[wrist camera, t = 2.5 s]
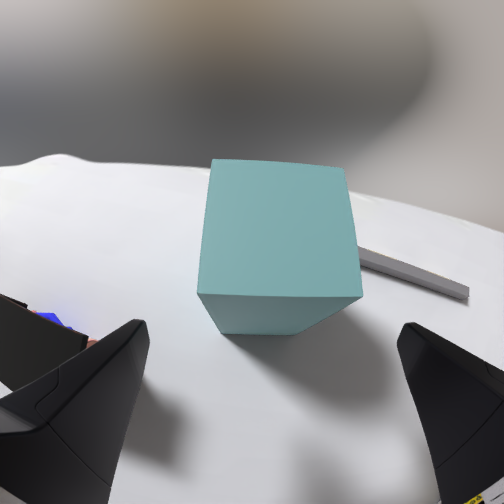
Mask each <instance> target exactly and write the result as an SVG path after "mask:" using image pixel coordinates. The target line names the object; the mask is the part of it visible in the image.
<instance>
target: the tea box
mask: <svg viewBox="0 0 504 504" xmlns="http://www.w3.org/2000/svg"><path fill="white" fill-rule="evenodd" d="M197 294H198V296H199V298H200V299H201V301H202V303H203V305H204V306H205V308H206V310H207V311H208V313H209V315H210V316H211V318H212V320H213V321H214V323H215V325H216V326H217V328H218V329H219V331H220V333H222V334H247V335H296V334H298V333H300V332H302V331H304V330H306V329H307V328H309V327H311V326H313V325H315V324H317V323H318V322H320V321H322V320H324V319H326V318H327V317H329V316H331V315H333V314H335V313H336V312H338V311H340V310H341V309H343V308H345V307H347V306H348V305H350V304H352V303H353V302H355V301H357V300H358V299H360V298H362V297H363V289H362V279H361V270H360V262H359V254H358V247H357V240H356V233H355V226H354V220H353V214H352V209H351V203H350V198H349V193H348V188H347V183H346V178H345V173H344V169H343V168H336V167H327V166H318V165H308V164H297V163H285V162H272V161H253V160H226V159H225V160H224V159H213V160H212V166H211V172H210V179H209V186H208V193H207V201H206V209H205V217H204V226H203V234H202V243H201V253H200V263H199V274H198V285H197Z"/></svg>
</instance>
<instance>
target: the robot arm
mask: <svg viewBox="0 0 504 504" xmlns="http://www.w3.org/2000/svg"><path fill="white" fill-rule="evenodd" d="M149 345H150V339H149V334H148V330H147V325H146V322H145V321H144V320H139V319H133V320H131V321H129V322H128V323H126V324H124V325H123V326H121V327H120V328H118V329H117V330H115V331H113V332H112V333H110V334H109V335H107V336H105V337H104V338H102V339H101V340H99V341H98V342H96V343H94V344H93V345H91V346H90V347H88V348H87V349H85V350H83V351H82V352H80V353H79V354H77V355H76V356H74V357H72V358H71V359H69V360H68V361H66V362H65V363H63V364H61V365H60V366H59V367H57V368H55V369H54V370H52V371H50V372H49V373H47V374H46V375H44V376H42V377H41V378H39V379H37V380H35V381H34V382H32V383H30V384H28V385H26V386H24V387H22V388H20V389H18V390H16V391H14V392H12V393H10V394H8V395H7V396H5V397H3V398H0V504H108V500H109V496H110V492H111V487H112V483H113V479H114V475H115V471H116V467H117V463H118V459H119V455H120V452H121V448H122V445H123V441H124V438H125V434H126V431H127V427H128V424H129V421H130V418H131V414H132V411H133V408H134V405H135V402H136V398H137V395H138V392H139V389H140V386H141V383H142V378H143V373H144V369H145V364H146V359H147V355H148V350H149ZM397 348H398V351H399V355H400V358H401V362H402V366H403V369H404V373H405V377H406V380H407V383H408V386H409V389H410V391H411V394H412V397H413V400H414V403H415V406H416V408H417V411H418V414H419V418H420V421H421V424H422V427H423V430H424V433H425V437H426V440H427V444H428V447H429V451H430V454H431V458H432V462H433V466H434V470H435V475H436V479H437V484H438V488H439V493H440V498H441V503H442V504H464V503H466V502H468V501H469V500H471V499H473V498H474V497H476V496H477V495H479V494H480V493H481V496H482V498H483V500H481V501H480V502H478V503H477V504H504V371H502V370H500V369H498V368H497V367H495V366H493V365H491V364H489V363H488V362H486V361H484V360H482V359H480V358H479V357H477V356H475V355H473V354H471V353H470V352H468V351H466V350H464V349H463V348H461V347H459V346H457V345H455V344H454V343H452V342H450V341H448V340H446V339H444V338H443V337H441V336H439V335H437V334H435V333H434V332H432V331H430V330H428V329H426V328H424V327H423V326H421V325H419V324H417V323H415V322H410V323H405V324H404V326H403V328H402V330H401V333H400V335H399V338H398V340H397Z"/></svg>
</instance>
